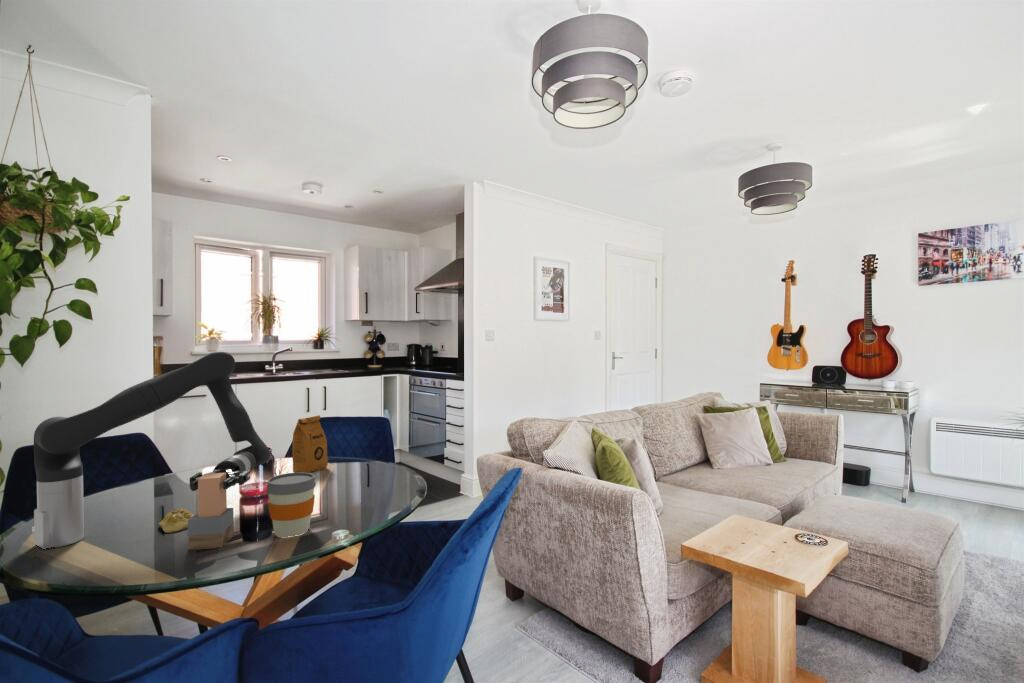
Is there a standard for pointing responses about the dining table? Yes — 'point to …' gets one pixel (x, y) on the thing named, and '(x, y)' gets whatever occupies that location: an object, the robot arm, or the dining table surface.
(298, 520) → the reusable coffee cup
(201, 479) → the terracotta block
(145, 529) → the dining table surface
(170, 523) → the golden lumpy piece
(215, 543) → the tower base
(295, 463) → the coffee package
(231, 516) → the grey flat square block
